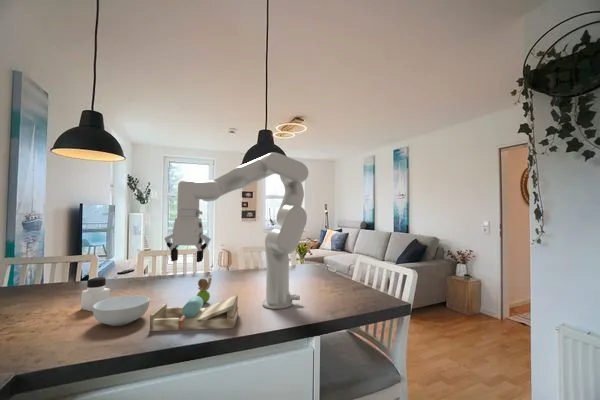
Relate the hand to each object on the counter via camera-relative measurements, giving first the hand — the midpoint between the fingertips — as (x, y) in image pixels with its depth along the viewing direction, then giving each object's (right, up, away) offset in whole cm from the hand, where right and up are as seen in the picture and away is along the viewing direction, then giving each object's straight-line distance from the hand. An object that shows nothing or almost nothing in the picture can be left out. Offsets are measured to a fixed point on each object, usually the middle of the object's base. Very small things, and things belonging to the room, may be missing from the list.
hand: (186, 261), depth 103 cm
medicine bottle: (-41, -21, +11) cm, 47 cm away
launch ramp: (+6, -21, -4) cm, 22 cm away
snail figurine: (+1, -22, +17) cm, 27 cm away
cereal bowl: (-21, -21, -4) cm, 30 cm away
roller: (+4, -15, -4) cm, 16 cm away
